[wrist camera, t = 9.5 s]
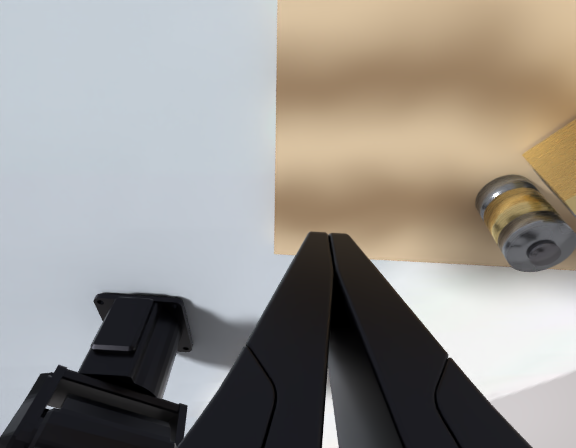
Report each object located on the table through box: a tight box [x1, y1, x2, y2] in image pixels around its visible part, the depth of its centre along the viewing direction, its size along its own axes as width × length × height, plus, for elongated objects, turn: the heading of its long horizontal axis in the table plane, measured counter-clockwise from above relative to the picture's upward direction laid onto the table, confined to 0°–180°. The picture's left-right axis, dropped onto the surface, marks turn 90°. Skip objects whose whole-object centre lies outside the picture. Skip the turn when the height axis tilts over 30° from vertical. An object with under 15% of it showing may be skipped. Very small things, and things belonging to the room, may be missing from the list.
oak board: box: [274, 0, 576, 270], centre depth 16 cm, size 20×20×1 cm
